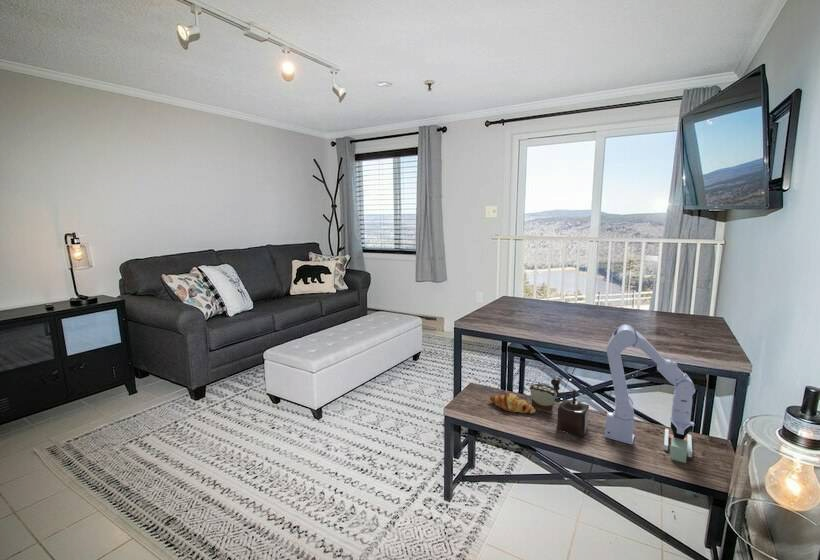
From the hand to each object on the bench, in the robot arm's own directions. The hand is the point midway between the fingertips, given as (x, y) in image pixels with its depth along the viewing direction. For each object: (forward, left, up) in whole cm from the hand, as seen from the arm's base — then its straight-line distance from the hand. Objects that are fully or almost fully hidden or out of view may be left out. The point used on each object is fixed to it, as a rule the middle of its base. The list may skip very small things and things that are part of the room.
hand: (678, 443), depth 142 cm
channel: (0, +4, -2) cm, 4 cm away
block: (0, -5, -2) cm, 5 cm away
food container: (-50, +6, -2) cm, 50 cm away
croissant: (-62, -3, -3) cm, 62 cm away
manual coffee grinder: (-38, -5, -2) cm, 38 cm away
